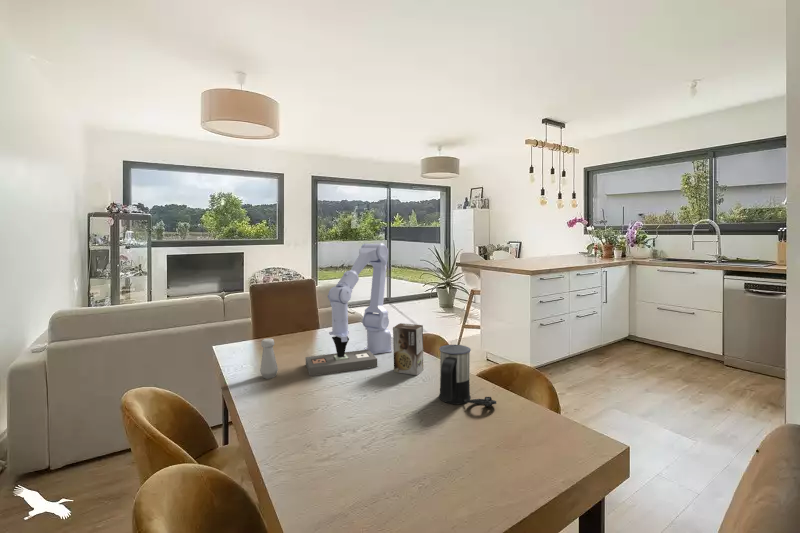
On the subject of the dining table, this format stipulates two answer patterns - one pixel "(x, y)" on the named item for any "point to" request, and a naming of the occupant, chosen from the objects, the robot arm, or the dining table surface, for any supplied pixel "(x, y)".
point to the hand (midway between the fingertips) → (340, 356)
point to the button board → (340, 363)
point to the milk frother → (457, 376)
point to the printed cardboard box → (408, 348)
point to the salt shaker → (268, 359)
